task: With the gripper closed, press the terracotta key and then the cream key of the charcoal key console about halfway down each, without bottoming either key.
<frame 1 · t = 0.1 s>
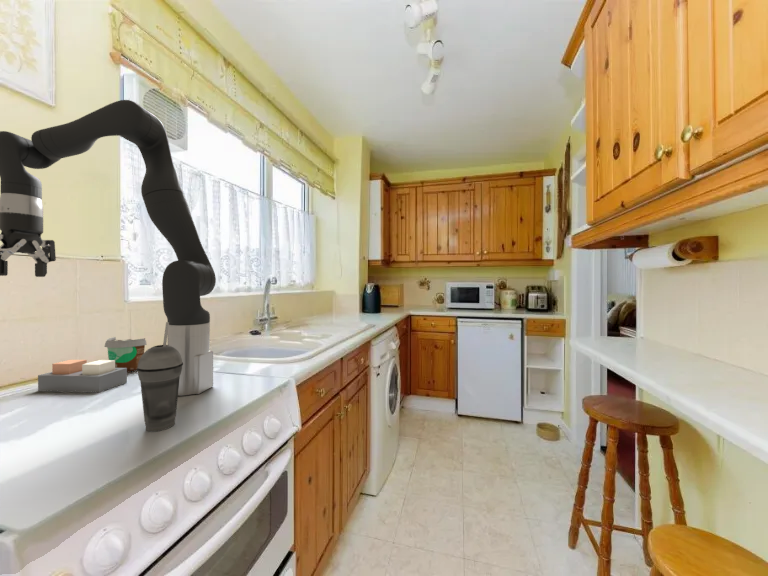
hand: (22, 276, 81), 29 cm above the table, fingers open, 8 cm apart
food container: (120, 371, 97), on the table
beverage cup: (160, 427, 60), on the table
terracotta key: (69, 368, 82), point 5 cm above the table, slide at 0.0 cm
key console: (84, 386, 82), on the table
cream key: (99, 368, 82), point 5 cm above the table, slide at 0.0 cm
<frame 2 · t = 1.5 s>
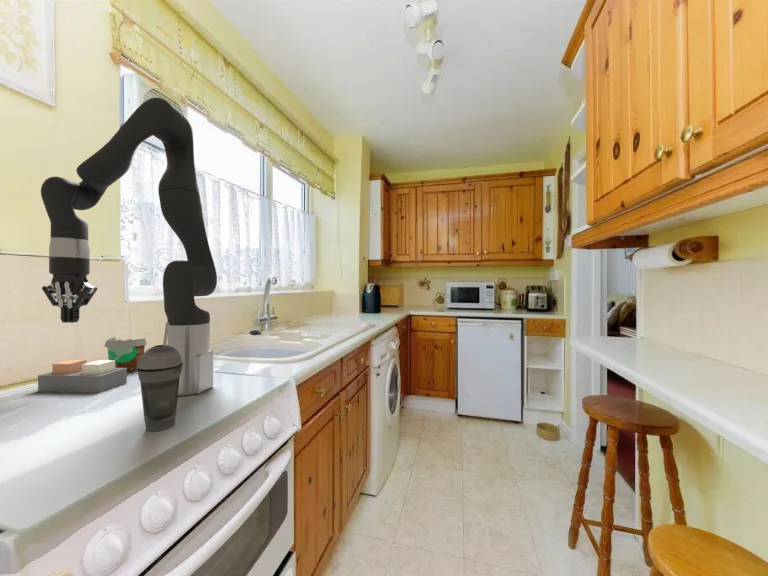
hand: (69, 322, 82), 17 cm above the table, fingers closed
nothing on the table moved.
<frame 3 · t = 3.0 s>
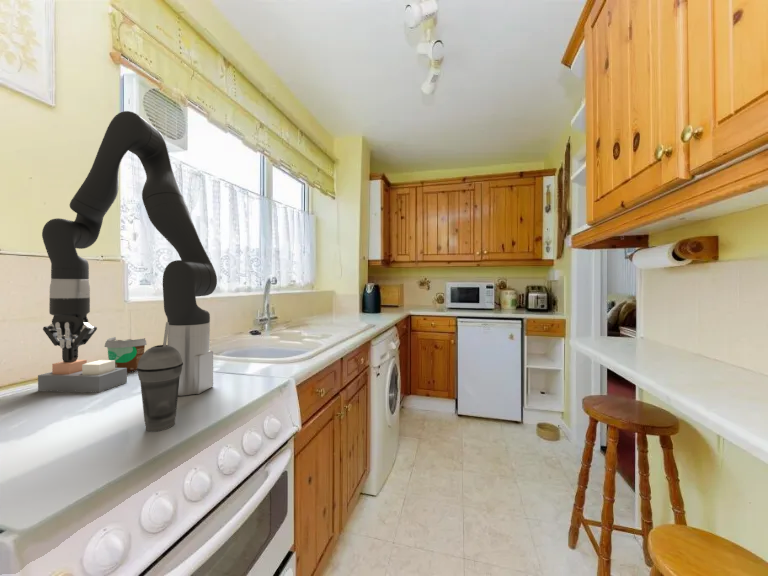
hand: (70, 361, 82), 7 cm above the table, fingers closed
terracotta key: (69, 368, 82), point 5 cm above the table, slide at 0.0 cm, touching gripper
everything else where it was.
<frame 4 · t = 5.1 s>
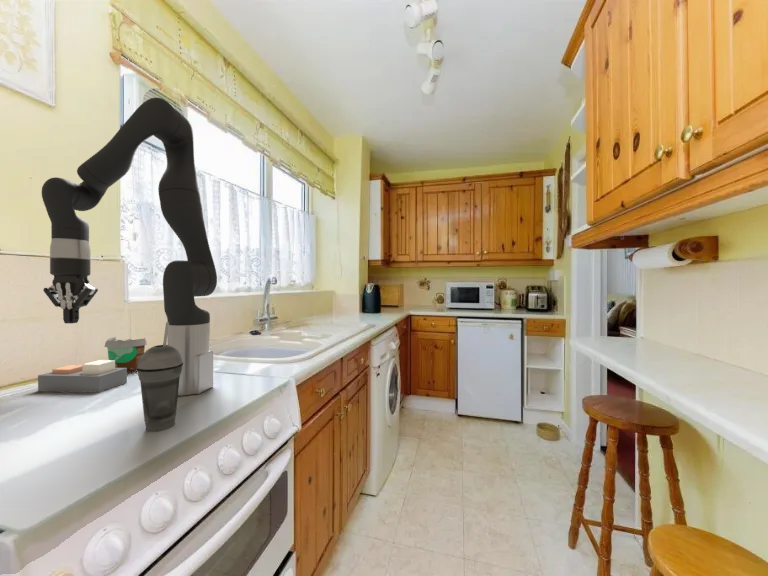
hand: (71, 323, 82), 17 cm above the table, fingers closed
terracotta key: (69, 373, 82), point 3 cm above the table, slide at 1.5 cm
everything else where it was.
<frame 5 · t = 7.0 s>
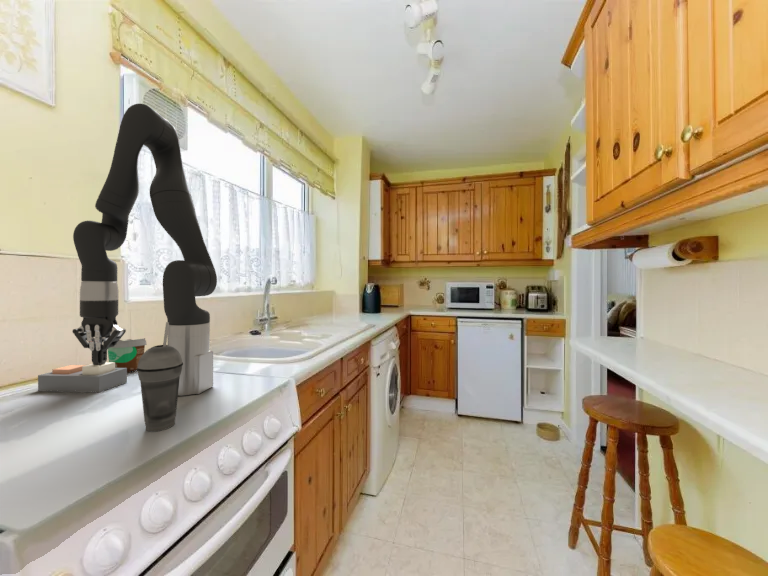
hand: (99, 364, 82), 6 cm above the table, fingers closed
cream key: (99, 370, 82), point 4 cm above the table, slide at 0.5 cm, touching gripper
everything else where it was.
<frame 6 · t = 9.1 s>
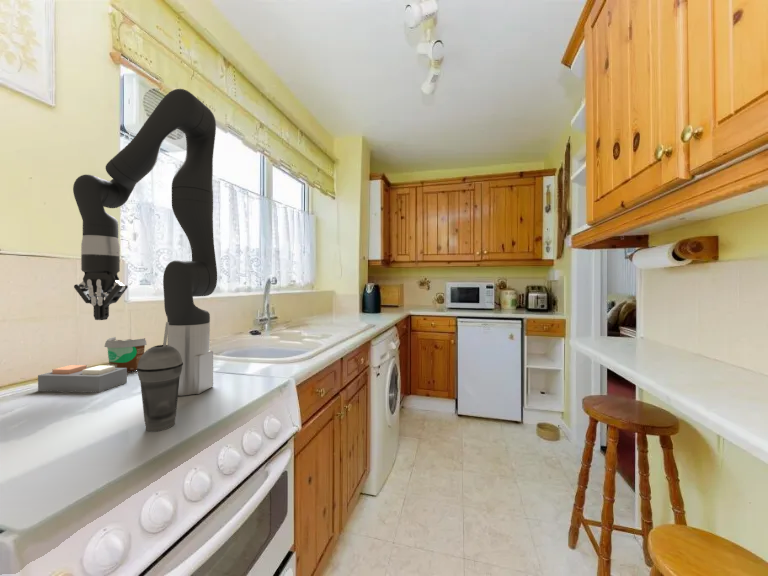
hand: (101, 319, 82), 18 cm above the table, fingers closed
cream key: (99, 374, 82), point 3 cm above the table, slide at 1.5 cm
everything else where it was.
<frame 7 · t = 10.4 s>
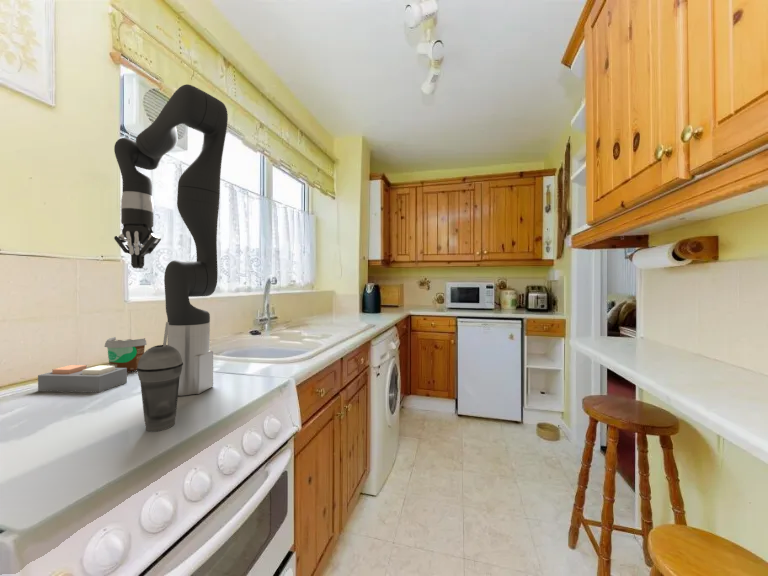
hand: (137, 268, 92), 32 cm above the table, fingers closed
nothing on the table moved.
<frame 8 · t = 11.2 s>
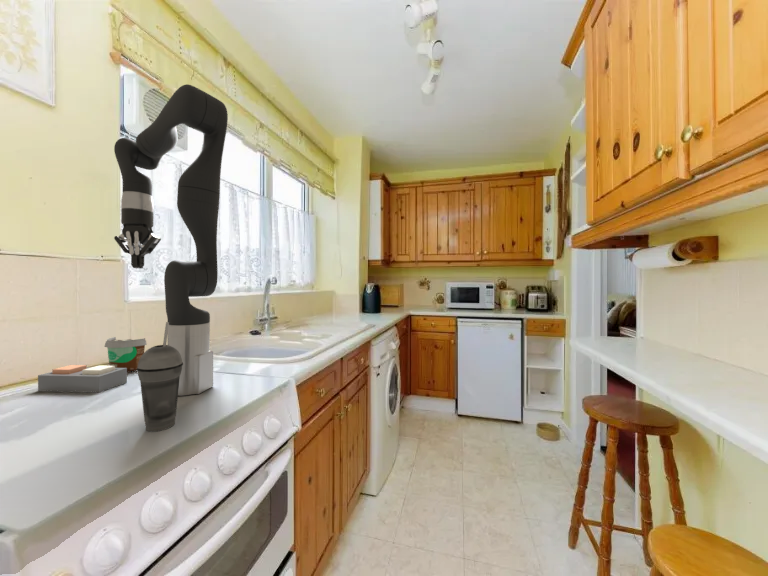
hand: (137, 268, 92), 32 cm above the table, fingers closed
nothing on the table moved.
at the end: terracotta key slide at 1.5 cm; cream key slide at 1.5 cm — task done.
